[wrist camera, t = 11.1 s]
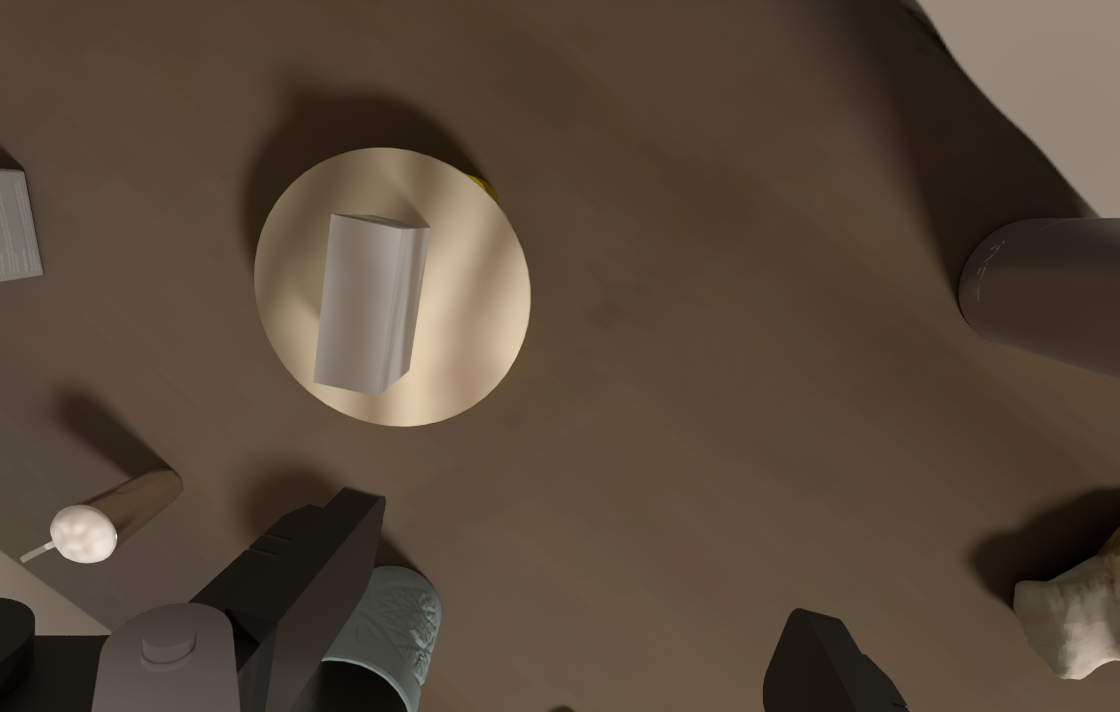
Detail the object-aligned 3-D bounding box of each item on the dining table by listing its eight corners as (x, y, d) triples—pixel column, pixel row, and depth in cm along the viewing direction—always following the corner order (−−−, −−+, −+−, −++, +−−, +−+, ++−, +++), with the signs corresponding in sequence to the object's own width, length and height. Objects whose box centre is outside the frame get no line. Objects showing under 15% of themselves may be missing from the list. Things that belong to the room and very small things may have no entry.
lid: (556, 183, 37) (549, 175, 30) (503, 445, 42) (487, 489, 35) (274, 121, 37) (203, 99, 30) (252, 391, 41) (186, 424, 35)
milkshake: (121, 468, 48) (4, 531, 39) (176, 453, 48) (72, 513, 38) (145, 515, 49) (36, 587, 40) (199, 500, 49) (102, 570, 39)
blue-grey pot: (332, 636, 51) (257, 758, 40) (350, 541, 49) (277, 641, 37) (439, 664, 51) (396, 794, 40) (463, 571, 49) (424, 680, 37)
